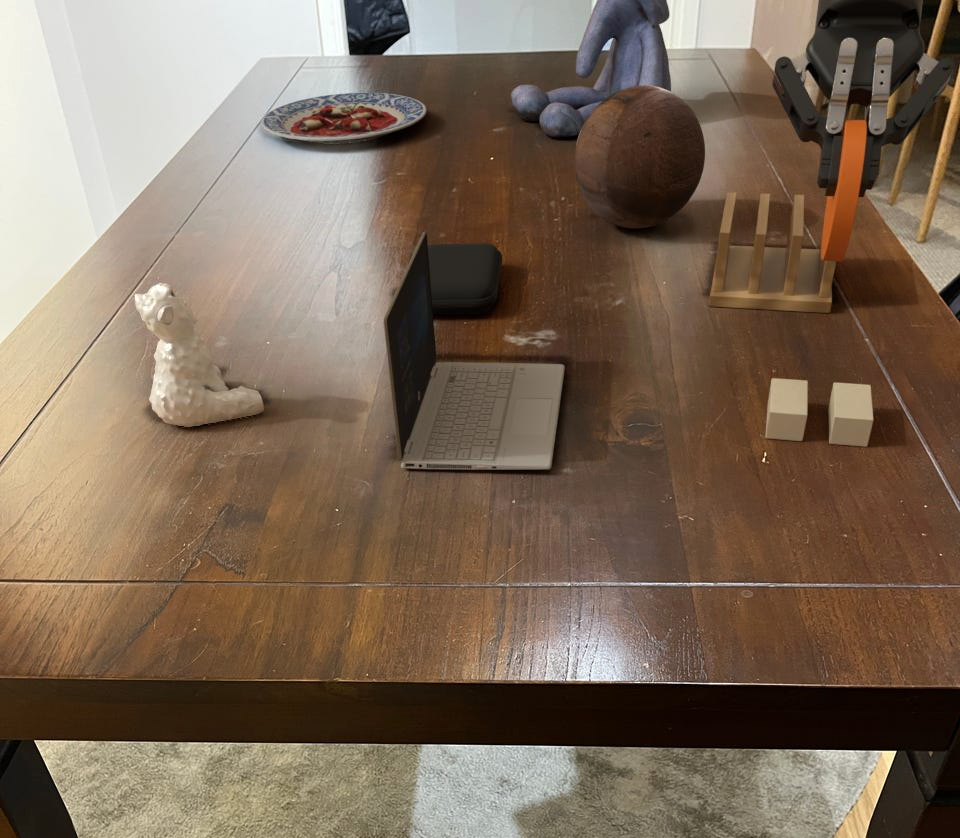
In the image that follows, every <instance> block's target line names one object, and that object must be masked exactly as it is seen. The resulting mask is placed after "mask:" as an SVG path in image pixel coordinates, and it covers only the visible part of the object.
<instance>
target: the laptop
mask: <svg viewBox="0 0 960 838" xmlns="http://www.w3.org/2000/svg"><path fill="white" fill-rule="evenodd" d="M427 233H428V232H426V231H425V230H424V231H423V232H422V234H421V236H420V238H419V240H418V242H417V244H416V247H415V249H414V251H413V253H412V255H411V258H410V260H409V261H408V264H407V266H406V269H405V271H404V272H403V275H402V277H401V279H400V281H399V283H398V286H397V287H396V290H395V293H394V295H393V296H392V299H391V300H390V303H389V305H388V308H387V310H386V311H385V314H384V316H383V329H384V330H383V331H384V339H385V349H386V358H387V367H388V376H389V384H390V393H391V394H390V395H391V403H392V411H393V412H392V413H393V422H394V423H393V424H394V431H395V440H396V449H397V459H398V461H399V462H401V464H400V468H401V469H412V470H413V469H416V470H469V471H470V470H473V471H474V470H478V471H479V470H482V471H484V470H489V471H490V470H491V471H492V470H494V471H495V470H497V471H499V470H501V471H502V470H503V471H504V470H505V471H506V470H507V471H508V470H510V471H511V470H516V471H517V470H518V471H519V470H550V469H552V464H553V457H554V448H555V441H556V434H557V428H558V427H557V426H558V419H559V412H560V407H561V406H560V405H561V397H562V392H563V385H564V377H565V369H566V366H565V365H564V364H563V363H521V362H520V363H517V362H513V363H512V362H461V361H460V362H459V361H456V362H455V361H438V362H437V349H436V348H437V347H436V337H435V336H436V334H435V322H434V321H435V320H434V315H433V308H432V295H431V282H430V269H429V256H428V245H429V244H428V234H427Z"/></svg>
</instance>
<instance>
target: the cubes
mask: <svg viewBox="0 0 960 838" xmlns="http://www.w3.org/2000/svg"><path fill="white" fill-rule="evenodd" d="M808 394H809V381H808V380H806V379H805V380H804V379H792V378H791V379H789V378H777V377H775V378H774V377H772V378H771V381H770V387H769V393H768V399H767V409H766V422H765V437H764V438H765V439H768V440H781V441H791V442H793V441H794V442H803V440H804V436H805V430H806V426H807V420H808V413H809V412H808V409H809V408H808V407H809V404H808V401H809V400H808V399H809V398H808V397H809V396H808ZM872 396H873V395H872V386H871V384H863V383H862V384H861V383H848V382H833V384H832V389H831V394H830V398H829V404H828V408H827V411H828V412H827V413H828V414H827V415H828V444H830V445H840V446H851V447H864V448H867V447H868V446H869V442H870V437H871V433H872V429H873V424H874V408H873V397H872Z"/></svg>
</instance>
